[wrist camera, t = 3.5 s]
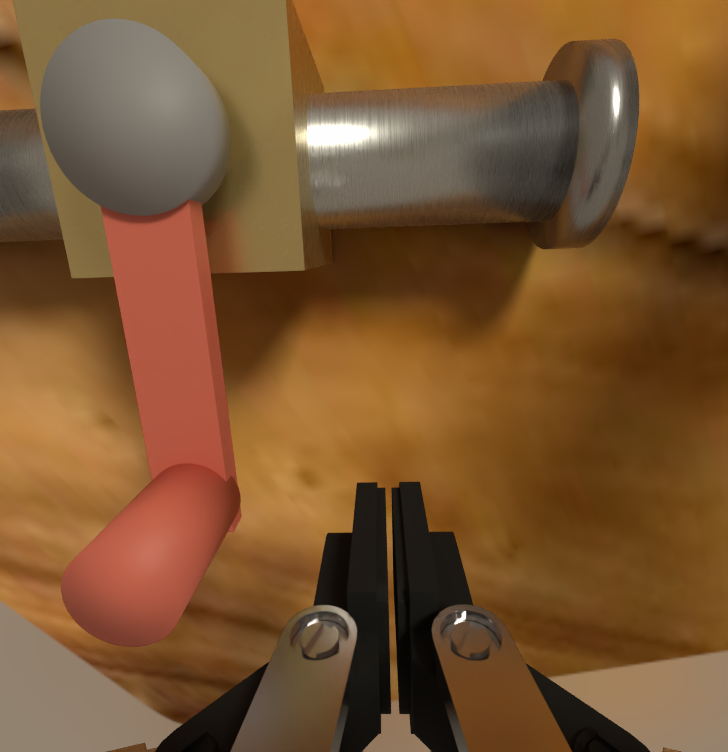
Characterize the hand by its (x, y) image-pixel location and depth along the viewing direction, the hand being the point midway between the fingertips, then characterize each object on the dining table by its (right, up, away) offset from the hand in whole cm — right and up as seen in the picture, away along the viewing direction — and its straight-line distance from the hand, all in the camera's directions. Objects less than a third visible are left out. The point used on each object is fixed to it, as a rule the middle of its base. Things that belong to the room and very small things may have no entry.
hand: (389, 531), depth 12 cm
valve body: (-6, +13, +8) cm, 16 cm away
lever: (-6, +6, +1) cm, 8 cm away
